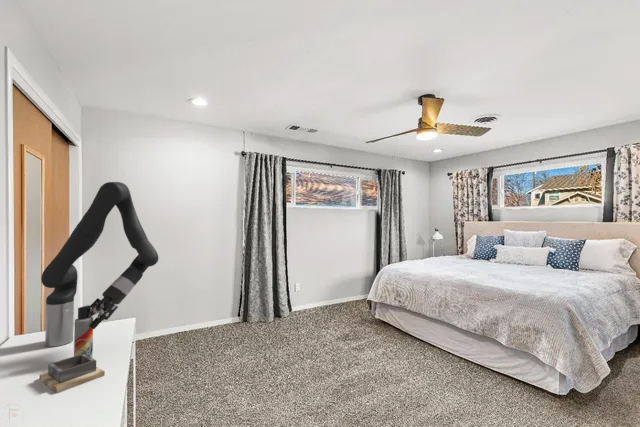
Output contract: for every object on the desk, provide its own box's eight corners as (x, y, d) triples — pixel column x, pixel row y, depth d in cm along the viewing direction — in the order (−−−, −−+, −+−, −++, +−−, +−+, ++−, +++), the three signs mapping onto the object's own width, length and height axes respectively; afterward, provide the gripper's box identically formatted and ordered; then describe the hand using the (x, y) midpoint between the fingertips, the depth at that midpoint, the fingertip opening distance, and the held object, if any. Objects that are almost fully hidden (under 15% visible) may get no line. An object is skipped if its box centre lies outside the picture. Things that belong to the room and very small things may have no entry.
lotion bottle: (82, 363, 117) (83, 308, 117) (69, 361, 118) (70, 307, 119) (96, 356, 123) (97, 304, 123) (84, 354, 124) (85, 303, 124)
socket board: (39, 379, 105) (39, 363, 105) (85, 364, 116) (85, 350, 116) (57, 393, 97) (57, 376, 97) (104, 375, 108) (104, 360, 108)
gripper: (103, 282, 133) (70, 317, 123) (120, 286, 125) (86, 324, 115) (117, 292, 137) (85, 327, 127) (134, 297, 129) (102, 334, 120)
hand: (86, 325), depth 121 cm, fingers open, 8 cm apart
